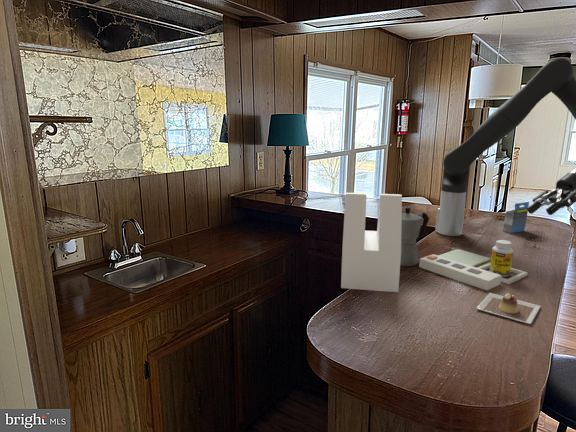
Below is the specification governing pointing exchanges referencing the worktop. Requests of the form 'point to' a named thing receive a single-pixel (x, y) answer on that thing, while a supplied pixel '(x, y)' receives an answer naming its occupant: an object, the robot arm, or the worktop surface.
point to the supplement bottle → (501, 258)
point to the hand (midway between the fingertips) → (538, 212)
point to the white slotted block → (372, 244)
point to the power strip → (460, 271)
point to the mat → (465, 257)
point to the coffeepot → (411, 236)
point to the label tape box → (516, 218)
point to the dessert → (509, 306)
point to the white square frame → (514, 278)
